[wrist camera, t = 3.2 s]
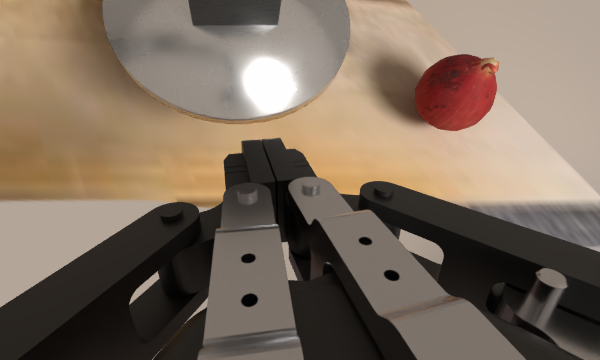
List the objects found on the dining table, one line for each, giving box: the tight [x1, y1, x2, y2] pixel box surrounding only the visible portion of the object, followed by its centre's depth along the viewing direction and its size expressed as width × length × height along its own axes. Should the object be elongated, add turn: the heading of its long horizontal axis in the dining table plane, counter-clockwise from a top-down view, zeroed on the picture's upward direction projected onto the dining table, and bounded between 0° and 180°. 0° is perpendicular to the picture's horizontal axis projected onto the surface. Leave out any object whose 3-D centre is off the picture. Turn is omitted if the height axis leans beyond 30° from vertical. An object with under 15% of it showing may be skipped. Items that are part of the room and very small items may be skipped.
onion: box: [415, 54, 499, 131], centre depth 26 cm, size 6×6×8 cm
